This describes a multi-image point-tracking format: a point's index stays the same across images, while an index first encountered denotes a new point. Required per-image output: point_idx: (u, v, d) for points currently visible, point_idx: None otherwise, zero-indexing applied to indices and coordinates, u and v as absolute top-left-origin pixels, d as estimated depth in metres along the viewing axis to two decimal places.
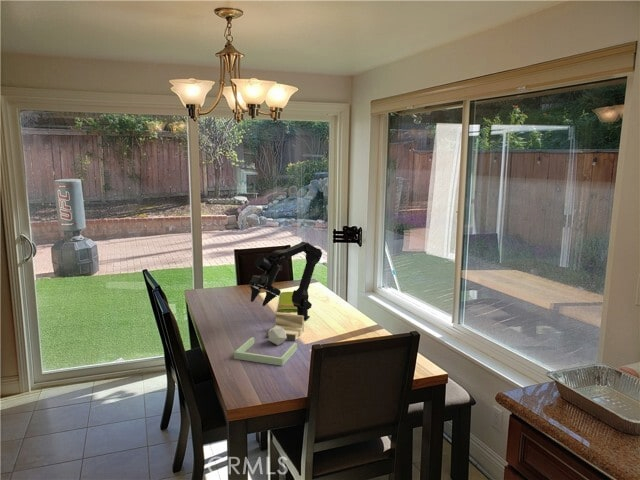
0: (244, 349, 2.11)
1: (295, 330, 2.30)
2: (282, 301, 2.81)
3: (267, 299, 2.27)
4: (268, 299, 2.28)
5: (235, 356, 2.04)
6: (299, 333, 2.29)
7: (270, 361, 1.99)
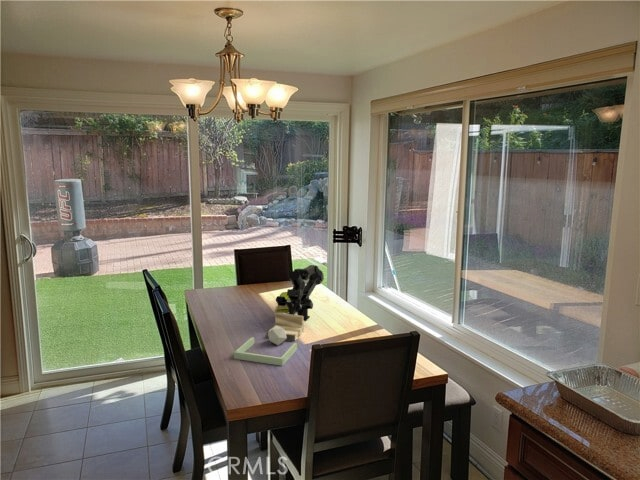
0: (244, 349, 2.11)
1: (295, 330, 2.29)
2: None
3: (294, 311, 2.38)
4: (295, 311, 2.38)
5: (235, 356, 2.04)
6: (299, 333, 2.29)
7: (270, 361, 1.99)
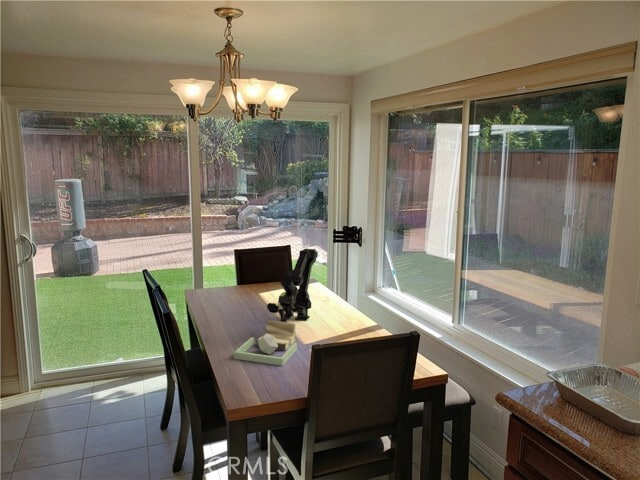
0: (244, 349, 2.11)
1: (286, 338, 2.19)
2: None
3: (286, 318, 2.27)
4: (286, 318, 2.28)
5: (235, 356, 2.04)
6: (290, 342, 2.18)
7: (270, 361, 1.99)
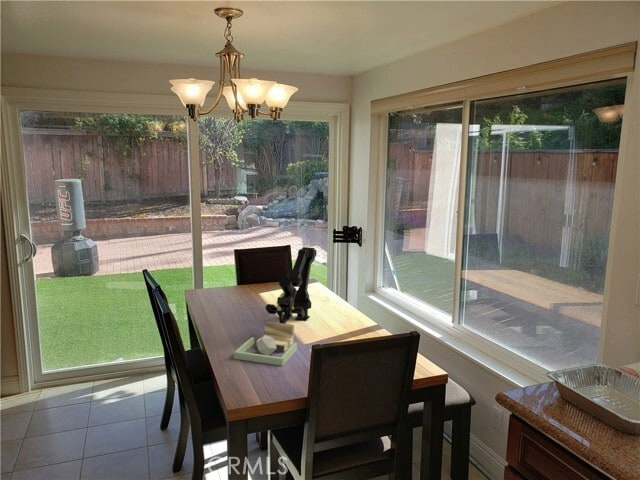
0: (244, 349, 2.11)
1: (285, 340, 2.17)
2: None
3: (285, 320, 2.25)
4: (285, 320, 2.26)
5: (235, 356, 2.04)
6: (289, 344, 2.17)
7: (270, 361, 1.99)
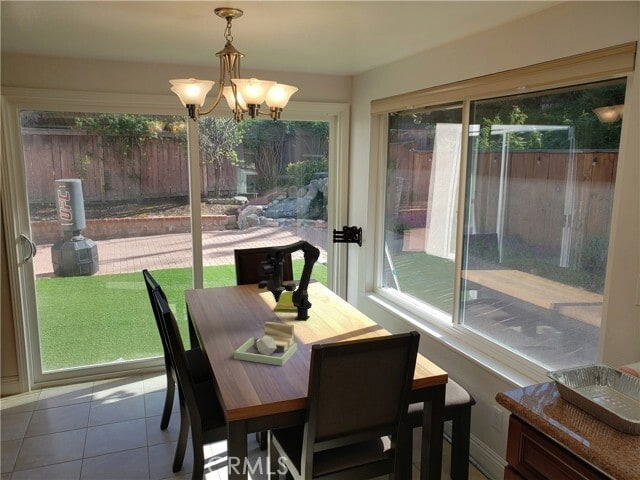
0: (244, 349, 2.11)
1: (285, 340, 2.17)
2: (281, 301, 2.81)
3: (279, 296, 2.38)
4: (279, 295, 2.39)
5: (235, 356, 2.04)
6: (288, 344, 2.17)
7: (270, 361, 1.99)
